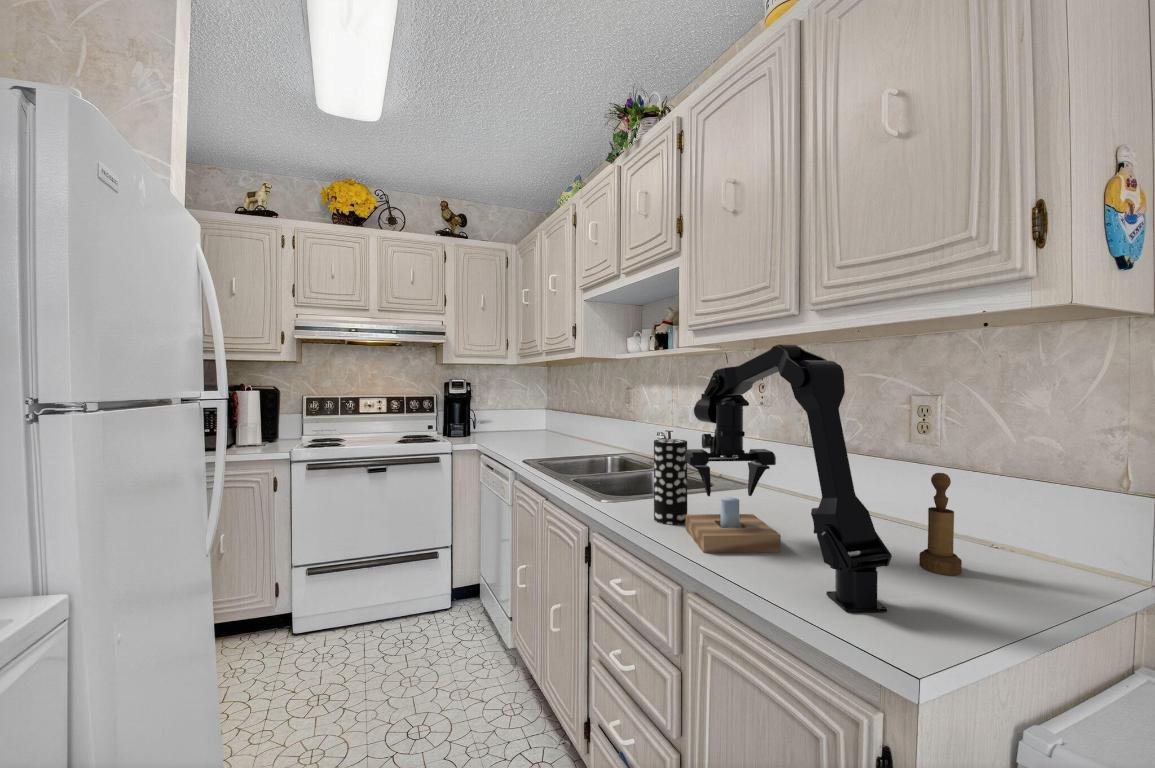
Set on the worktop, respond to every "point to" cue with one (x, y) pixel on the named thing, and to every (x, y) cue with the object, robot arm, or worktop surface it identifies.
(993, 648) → the worktop surface
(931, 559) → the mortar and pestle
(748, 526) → the socket board
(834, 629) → the worktop surface
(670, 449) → the spotted tube
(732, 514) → the peg
